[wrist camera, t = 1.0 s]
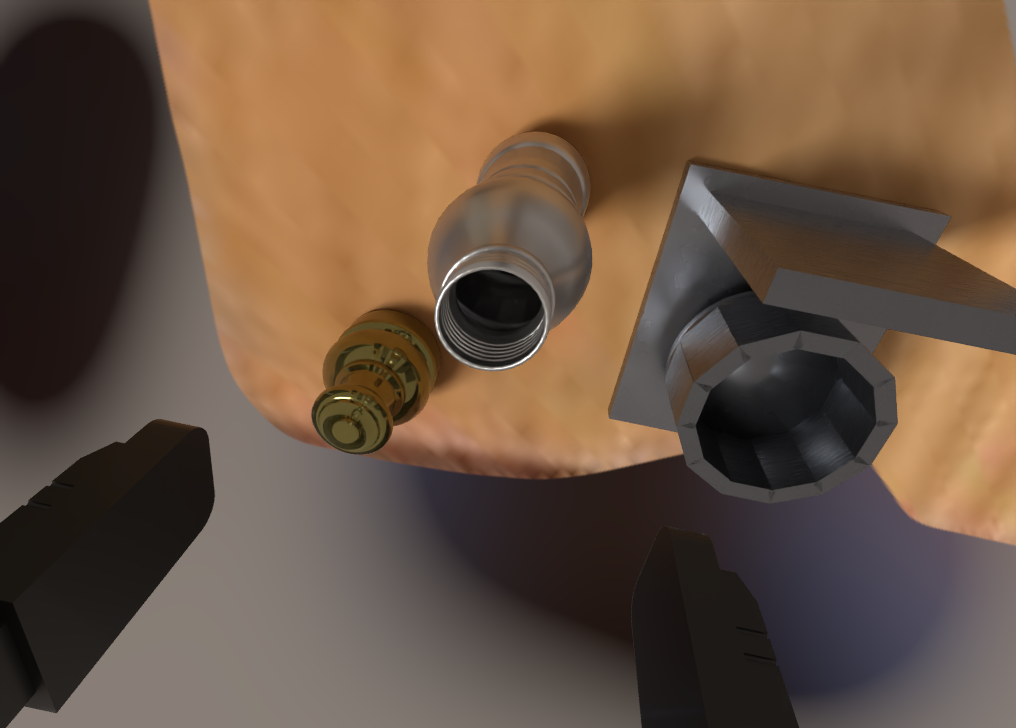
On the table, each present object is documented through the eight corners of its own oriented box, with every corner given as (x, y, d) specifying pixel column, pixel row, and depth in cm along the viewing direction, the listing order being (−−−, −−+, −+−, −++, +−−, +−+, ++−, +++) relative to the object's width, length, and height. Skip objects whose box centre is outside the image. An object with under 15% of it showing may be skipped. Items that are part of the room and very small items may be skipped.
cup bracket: (687, 160, 33) (752, 227, 21) (939, 211, 33) (1156, 308, 20) (608, 409, 42) (620, 558, 30) (805, 449, 42) (900, 617, 29)
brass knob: (327, 320, 41) (260, 393, 32) (420, 296, 39) (375, 366, 30) (368, 403, 44) (317, 490, 35) (456, 384, 42) (425, 470, 34)
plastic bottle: (612, 183, 34) (647, 323, 17) (532, 256, 37) (491, 442, 19) (538, 100, 32) (492, 160, 15) (460, 184, 35) (345, 317, 18)
